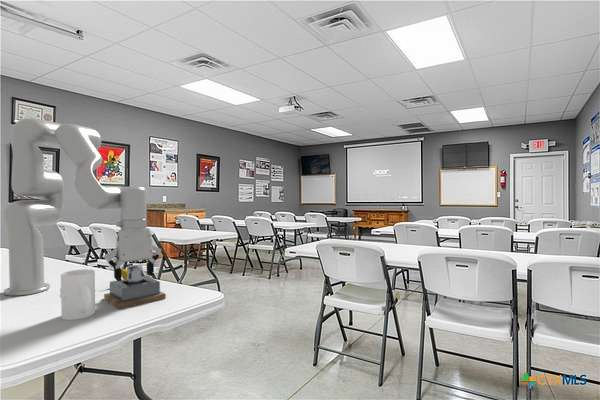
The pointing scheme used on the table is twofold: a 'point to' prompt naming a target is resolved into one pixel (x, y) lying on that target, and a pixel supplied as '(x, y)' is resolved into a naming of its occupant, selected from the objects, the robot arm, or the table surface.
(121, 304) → the dock board
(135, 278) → the steel peg
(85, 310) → the mug
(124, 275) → the drill bit
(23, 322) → the table surface
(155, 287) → the socket block
